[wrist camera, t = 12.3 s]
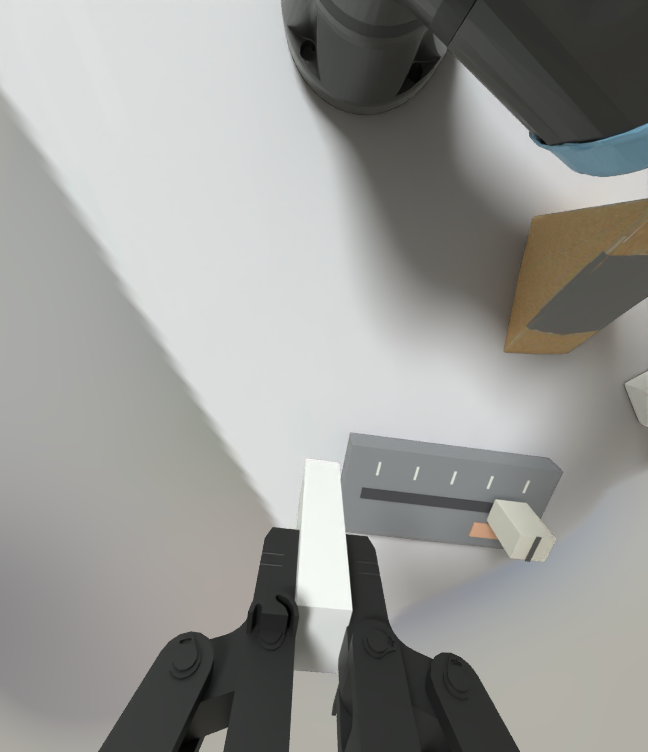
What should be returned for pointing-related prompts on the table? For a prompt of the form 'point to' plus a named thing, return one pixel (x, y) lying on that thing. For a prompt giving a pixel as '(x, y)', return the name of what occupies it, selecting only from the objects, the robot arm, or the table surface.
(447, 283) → the table surface
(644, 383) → the milk carton
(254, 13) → the table surface
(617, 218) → the sandwich container
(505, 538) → the fader knob
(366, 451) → the fader console
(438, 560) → the table surface
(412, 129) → the table surface
